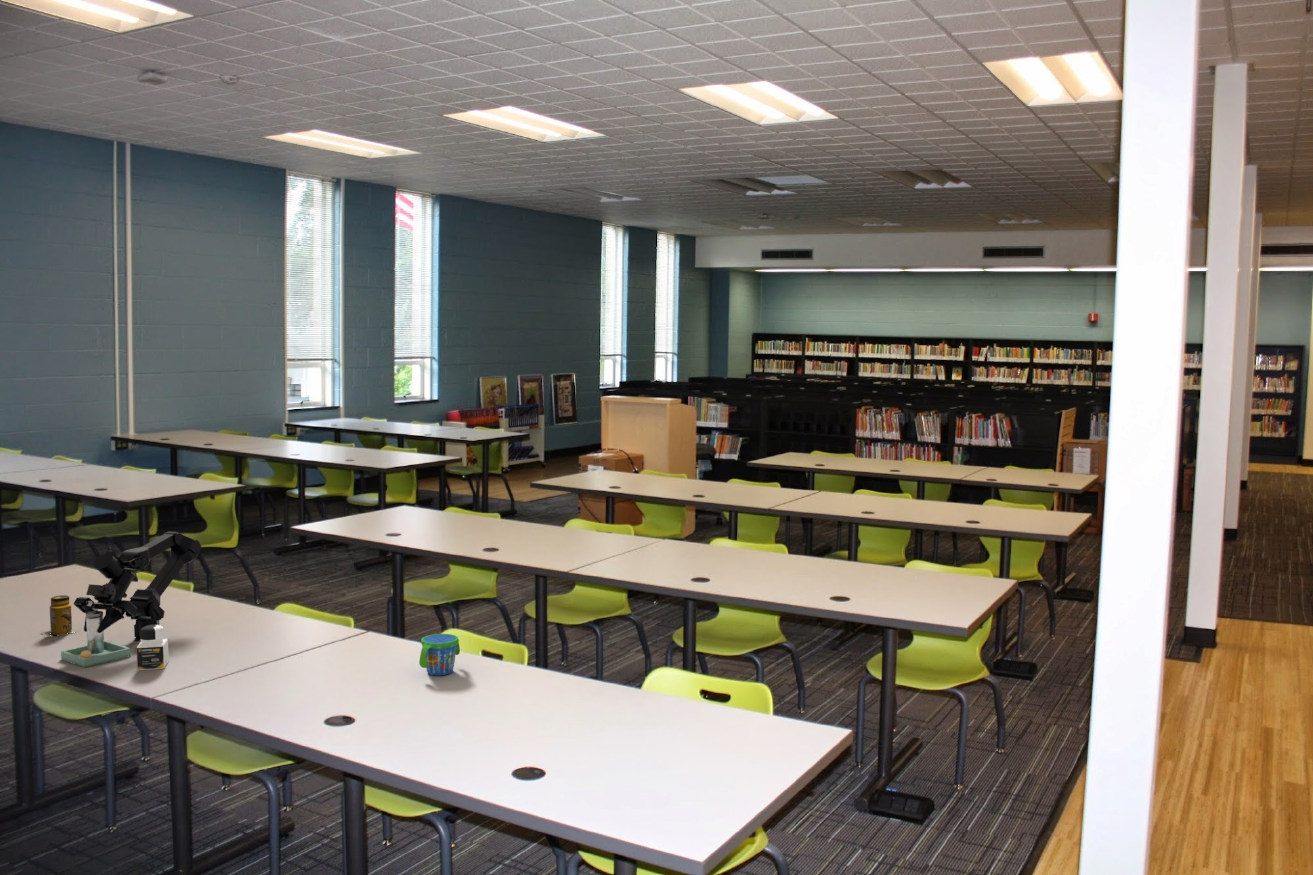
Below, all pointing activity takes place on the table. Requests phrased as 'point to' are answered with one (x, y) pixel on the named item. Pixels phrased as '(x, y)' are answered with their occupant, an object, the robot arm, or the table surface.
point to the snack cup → (439, 653)
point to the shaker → (94, 632)
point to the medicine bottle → (152, 648)
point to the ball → (86, 654)
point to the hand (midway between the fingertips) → (91, 631)
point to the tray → (109, 654)
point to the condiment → (60, 616)
